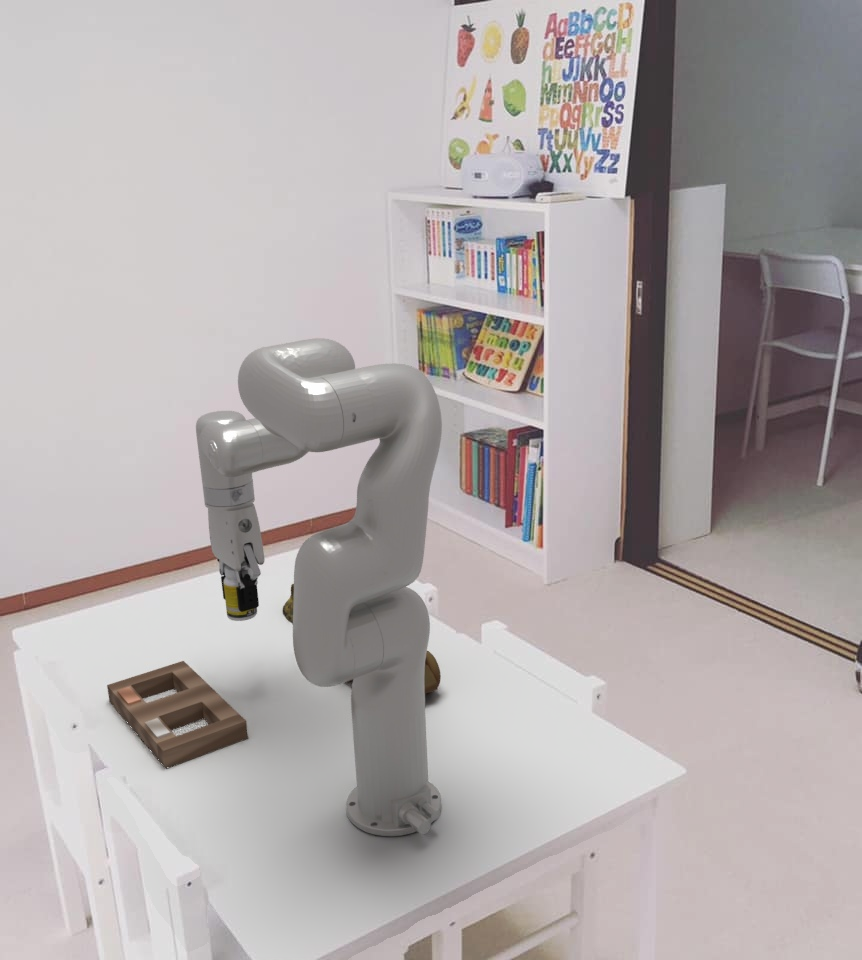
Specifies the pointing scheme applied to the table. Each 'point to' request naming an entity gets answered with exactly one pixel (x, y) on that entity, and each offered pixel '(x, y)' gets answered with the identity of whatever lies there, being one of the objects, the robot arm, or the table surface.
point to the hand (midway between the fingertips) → (241, 602)
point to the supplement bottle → (235, 596)
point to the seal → (289, 606)
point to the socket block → (177, 713)
